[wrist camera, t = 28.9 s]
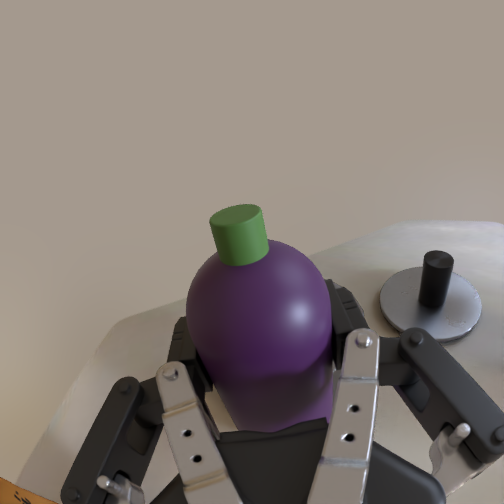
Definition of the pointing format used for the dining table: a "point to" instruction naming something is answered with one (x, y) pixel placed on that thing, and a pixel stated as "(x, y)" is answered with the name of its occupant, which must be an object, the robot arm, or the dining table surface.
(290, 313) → the eggplant
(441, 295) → the lid
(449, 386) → the robot arm
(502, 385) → the dining table surface
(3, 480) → the coffee package
